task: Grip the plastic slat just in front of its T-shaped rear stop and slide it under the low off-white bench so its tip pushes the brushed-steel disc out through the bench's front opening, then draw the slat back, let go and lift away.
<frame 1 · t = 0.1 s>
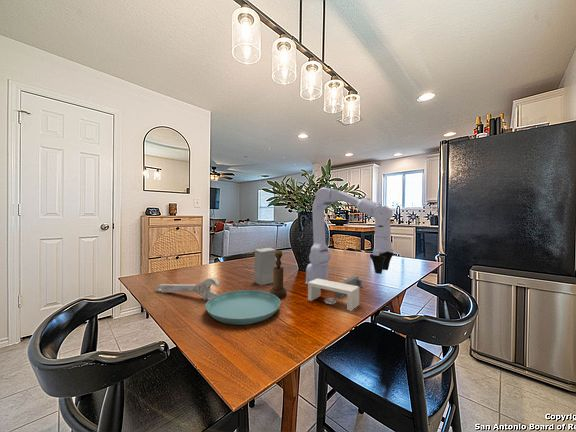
hand: (381, 271, 94), 10 cm above the table, tool pointing down, fingers open, 7 cm apart
low bench: (332, 302, 88), on the table
saucer: (243, 312, 79), on the table
wrench: (186, 296, 93), on the table
skincare box: (264, 283, 111), on the table
steel disc: (330, 303, 88), on the table
pepper mill: (278, 296, 94), on the table
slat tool: (347, 291, 101), on the table
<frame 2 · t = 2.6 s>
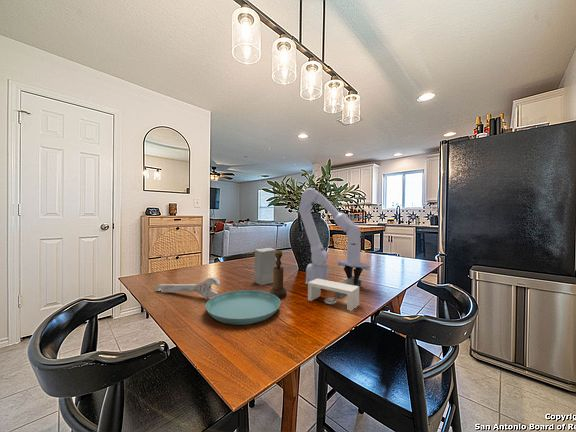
hand: (353, 283, 106), 2 cm above the table, tool pointing down, fingers closed on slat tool, 2 cm apart
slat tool: (347, 290, 101), on the table, touching gripper
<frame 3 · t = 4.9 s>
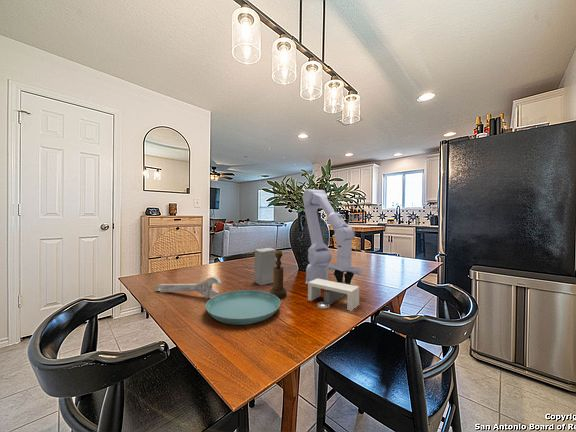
hand: (343, 289, 98), 2 cm above the table, tool pointing down, fingers closed on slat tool, 2 cm apart
steel disc: (323, 307, 84), on the table
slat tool: (338, 297, 94), on the table, touching gripper
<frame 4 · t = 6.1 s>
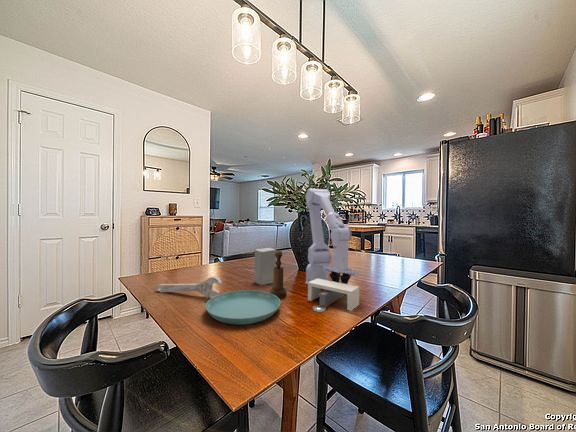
hand: (340, 291, 95), 2 cm above the table, tool pointing down, fingers closed on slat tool, 2 cm apart
steel disc: (319, 310, 81), on the table
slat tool: (334, 299, 91), on the table, touching gripper
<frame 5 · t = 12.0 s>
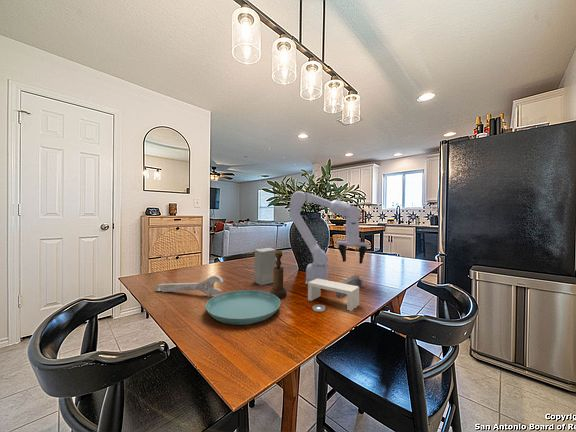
hand: (352, 262, 109), 10 cm above the table, tool pointing down, fingers open, 7 cm apart
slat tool: (348, 290, 102), on the table
at the end: steel disc inside the target area (2.5 cm from its centre), on the table; steel disc moved 8.5 cm from its start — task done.
